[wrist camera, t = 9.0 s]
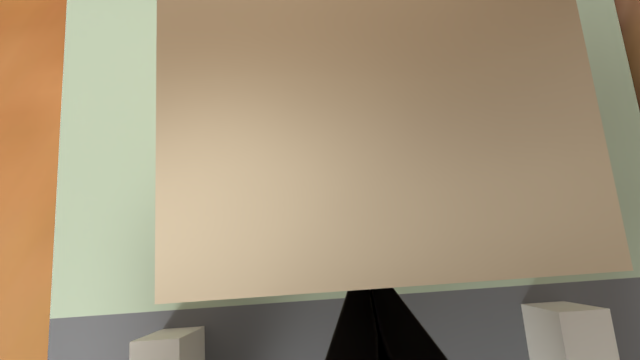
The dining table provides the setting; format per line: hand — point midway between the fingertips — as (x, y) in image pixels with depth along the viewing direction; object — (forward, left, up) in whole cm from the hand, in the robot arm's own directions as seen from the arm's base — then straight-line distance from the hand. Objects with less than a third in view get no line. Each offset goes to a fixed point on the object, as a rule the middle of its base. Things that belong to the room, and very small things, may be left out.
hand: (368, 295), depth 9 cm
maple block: (+4, 0, -3) cm, 5 cm away
